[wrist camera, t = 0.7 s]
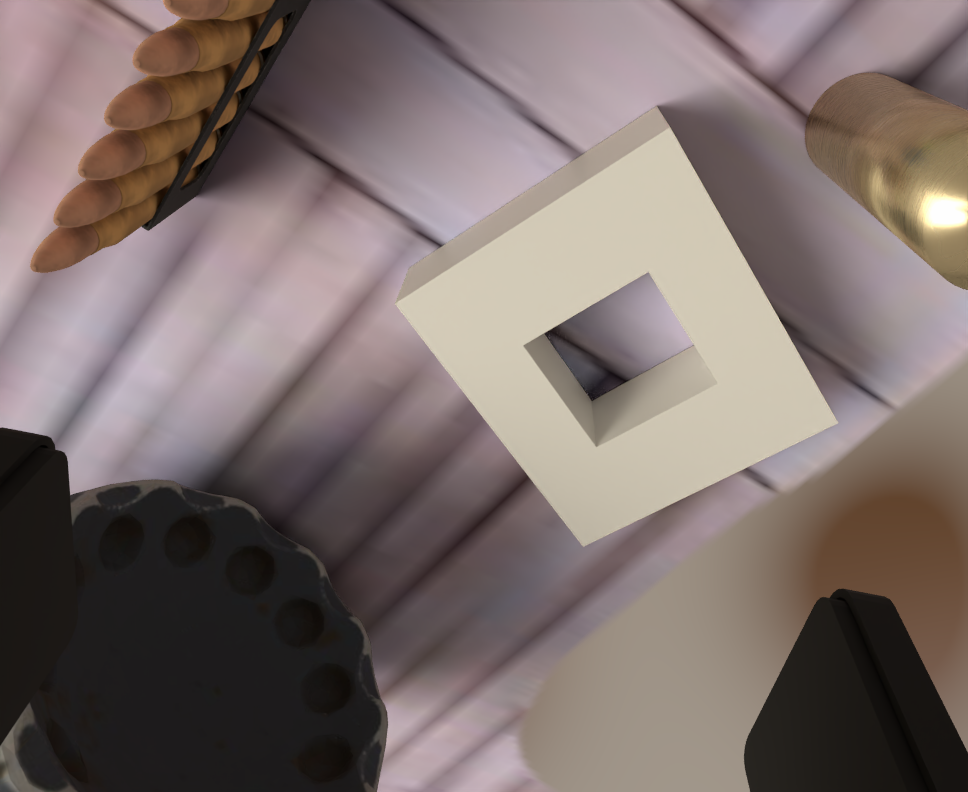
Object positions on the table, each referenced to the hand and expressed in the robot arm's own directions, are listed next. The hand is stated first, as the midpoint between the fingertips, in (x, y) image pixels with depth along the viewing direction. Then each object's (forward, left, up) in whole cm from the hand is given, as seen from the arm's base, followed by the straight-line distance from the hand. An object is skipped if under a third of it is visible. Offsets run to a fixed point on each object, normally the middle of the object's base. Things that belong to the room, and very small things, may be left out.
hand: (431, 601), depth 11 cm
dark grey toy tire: (+25, +10, -27) cm, 38 cm away
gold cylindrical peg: (-11, +7, -27) cm, 30 cm away
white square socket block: (+1, +9, -27) cm, 28 cm away
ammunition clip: (+8, -8, -27) cm, 29 cm away
